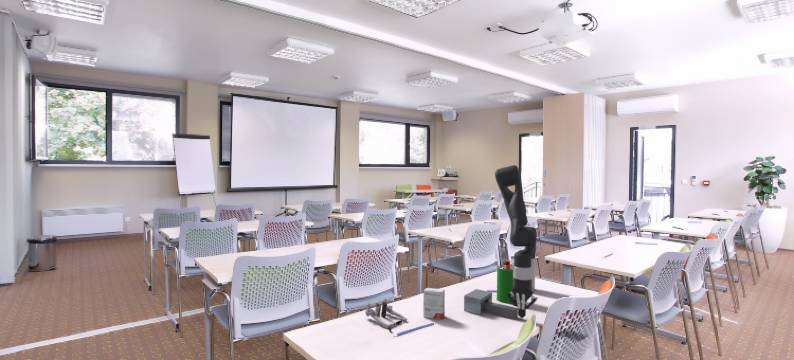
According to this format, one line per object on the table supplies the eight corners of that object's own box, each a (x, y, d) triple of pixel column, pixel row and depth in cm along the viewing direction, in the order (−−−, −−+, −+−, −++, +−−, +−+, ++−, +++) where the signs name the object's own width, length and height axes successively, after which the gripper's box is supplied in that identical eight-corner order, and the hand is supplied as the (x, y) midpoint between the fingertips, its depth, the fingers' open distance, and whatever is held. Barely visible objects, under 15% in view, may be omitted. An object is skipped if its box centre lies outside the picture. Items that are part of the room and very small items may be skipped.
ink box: (445, 316, 176) (445, 289, 176) (442, 320, 172) (443, 292, 171) (426, 313, 179) (426, 287, 179) (423, 317, 174) (423, 290, 174)
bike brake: (361, 317, 172) (391, 339, 158) (362, 301, 171) (394, 323, 157) (385, 309, 181) (416, 330, 167) (387, 295, 180) (419, 315, 166)
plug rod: (475, 307, 187) (475, 298, 187) (517, 317, 175) (518, 308, 175) (471, 309, 184) (471, 300, 184) (514, 319, 173) (515, 310, 172)
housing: (475, 303, 192) (476, 289, 192) (491, 307, 187) (492, 292, 187) (463, 310, 182) (464, 295, 182) (480, 315, 178) (480, 299, 177)
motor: (516, 297, 201) (517, 257, 200) (520, 303, 192) (521, 261, 191) (495, 296, 202) (496, 256, 201) (498, 303, 193) (499, 261, 192)
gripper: (541, 277, 171) (540, 318, 172) (510, 272, 179) (509, 311, 180) (535, 281, 165) (534, 323, 166) (504, 276, 173) (503, 316, 174)
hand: (521, 317), depth 173 cm, fingers closed
